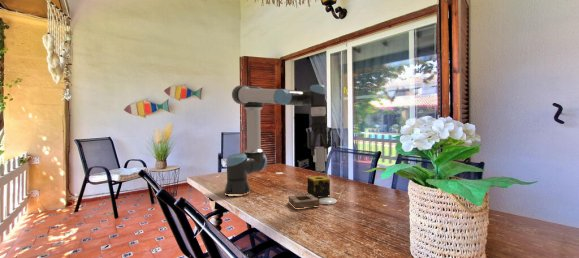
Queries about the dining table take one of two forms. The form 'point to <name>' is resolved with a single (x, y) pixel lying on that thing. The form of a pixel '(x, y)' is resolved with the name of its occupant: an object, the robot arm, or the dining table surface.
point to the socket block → (303, 201)
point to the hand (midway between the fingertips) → (320, 161)
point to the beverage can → (320, 159)
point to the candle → (318, 186)
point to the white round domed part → (327, 200)
